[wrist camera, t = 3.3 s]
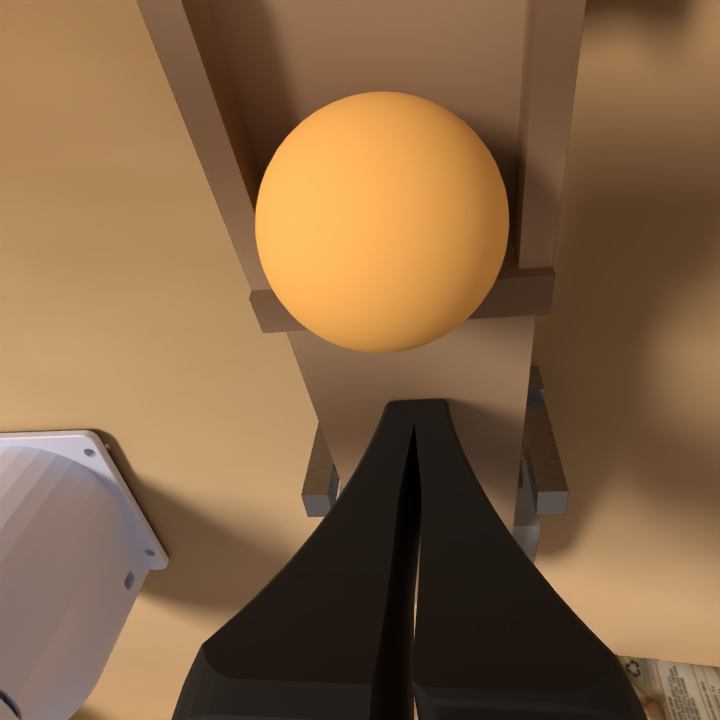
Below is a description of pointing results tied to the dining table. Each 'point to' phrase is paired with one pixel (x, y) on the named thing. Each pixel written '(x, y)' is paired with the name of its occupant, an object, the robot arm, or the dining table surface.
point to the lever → (434, 83)
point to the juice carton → (674, 688)
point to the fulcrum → (536, 445)
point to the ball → (382, 222)
